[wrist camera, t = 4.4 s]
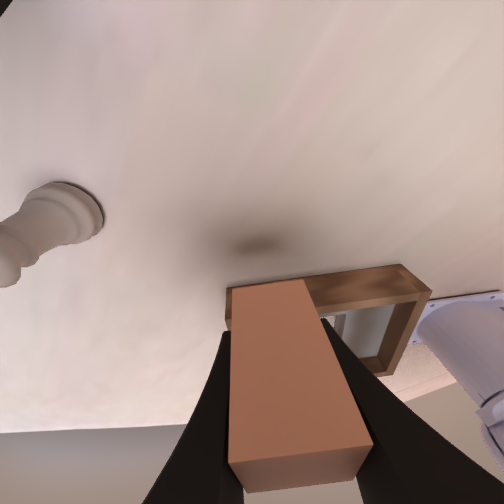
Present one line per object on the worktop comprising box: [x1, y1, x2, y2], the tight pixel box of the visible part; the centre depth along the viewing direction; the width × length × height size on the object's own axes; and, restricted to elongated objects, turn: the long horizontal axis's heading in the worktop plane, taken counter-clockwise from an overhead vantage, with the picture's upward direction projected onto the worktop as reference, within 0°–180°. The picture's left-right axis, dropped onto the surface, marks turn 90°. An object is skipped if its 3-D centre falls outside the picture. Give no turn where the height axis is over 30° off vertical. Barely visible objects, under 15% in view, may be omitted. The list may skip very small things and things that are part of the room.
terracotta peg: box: [228, 279, 373, 493], centre depth 10 cm, size 4×4×7 cm
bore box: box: [225, 264, 432, 377], centre depth 23 cm, size 18×14×4 cm
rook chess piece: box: [0, 183, 103, 288], centre depth 13 cm, size 4×4×8 cm
